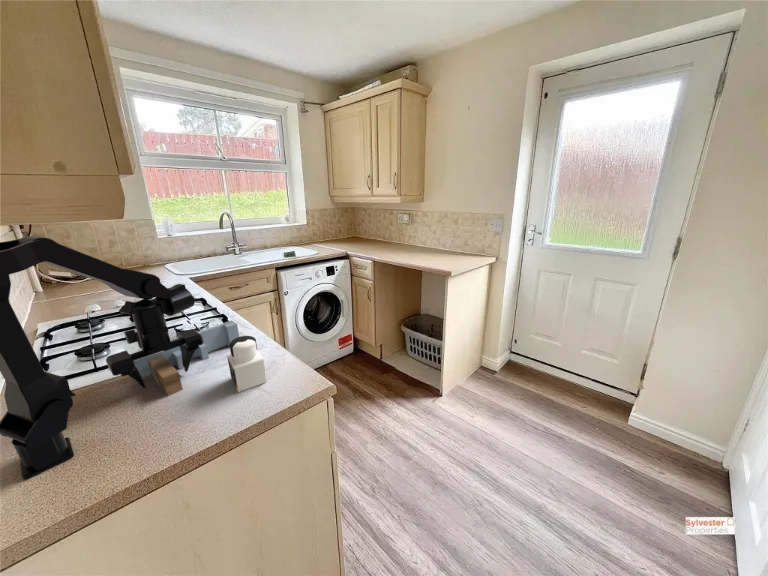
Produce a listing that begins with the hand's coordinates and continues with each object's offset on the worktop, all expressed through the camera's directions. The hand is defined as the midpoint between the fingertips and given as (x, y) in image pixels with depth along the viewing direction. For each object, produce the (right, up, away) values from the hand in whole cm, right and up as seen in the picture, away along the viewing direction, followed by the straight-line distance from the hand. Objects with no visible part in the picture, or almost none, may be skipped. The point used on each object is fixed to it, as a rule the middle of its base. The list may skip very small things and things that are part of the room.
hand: (166, 379), depth 79 cm
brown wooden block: (0, -1, 0) cm, 1 cm away
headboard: (+1, +2, +9) cm, 10 cm away
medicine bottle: (+21, -1, +2) cm, 21 cm away
